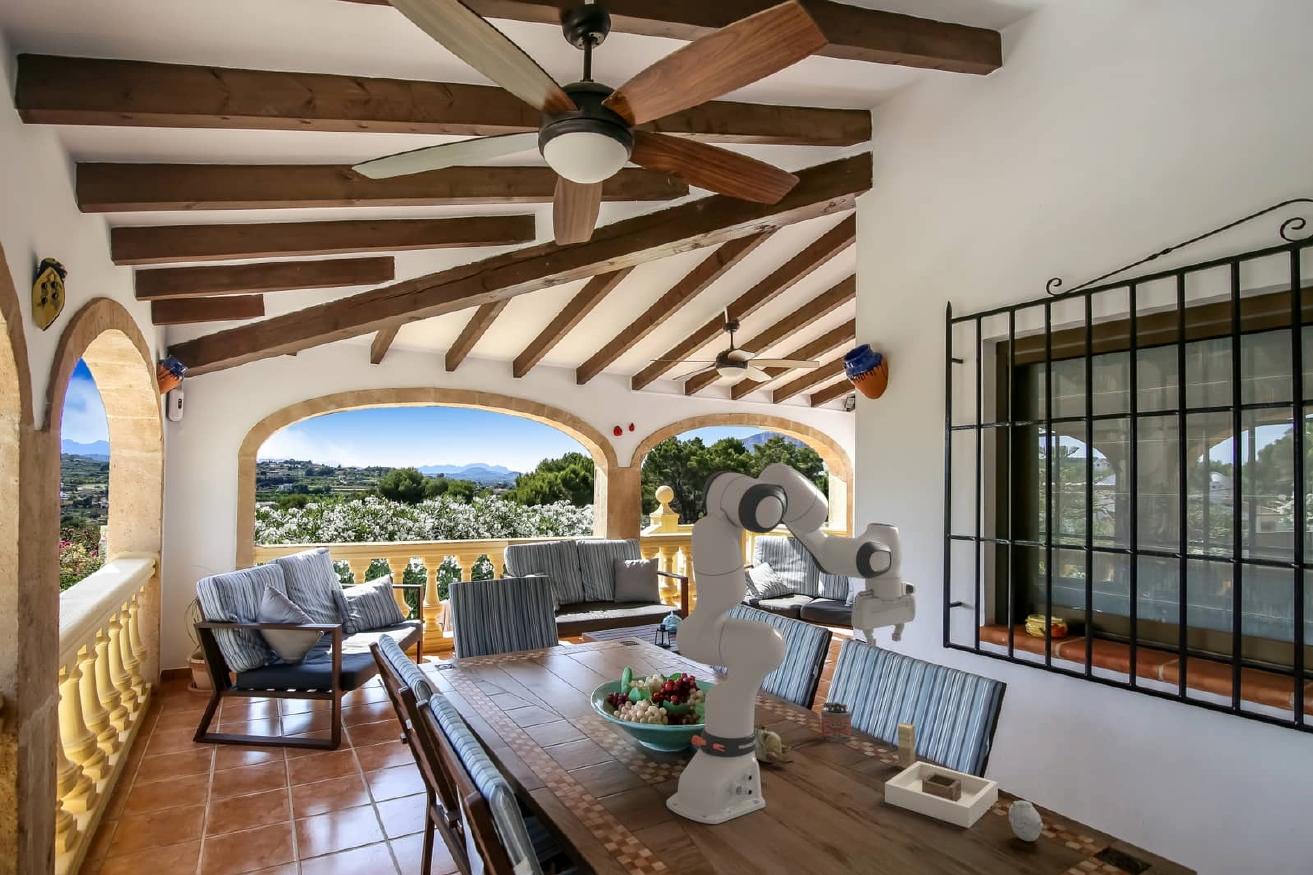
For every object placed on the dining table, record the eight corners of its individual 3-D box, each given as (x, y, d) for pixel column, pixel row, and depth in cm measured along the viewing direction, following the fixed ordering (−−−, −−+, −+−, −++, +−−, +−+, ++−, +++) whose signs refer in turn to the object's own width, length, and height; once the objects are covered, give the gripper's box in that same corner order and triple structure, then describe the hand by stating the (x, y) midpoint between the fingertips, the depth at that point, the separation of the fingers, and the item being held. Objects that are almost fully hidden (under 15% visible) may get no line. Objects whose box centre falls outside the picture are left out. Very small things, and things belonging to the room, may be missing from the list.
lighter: (850, 738, 204) (850, 701, 205) (852, 742, 201) (852, 705, 201) (820, 737, 205) (820, 700, 205) (821, 741, 202) (821, 703, 202)
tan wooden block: (910, 770, 182) (909, 728, 183) (898, 766, 184) (898, 725, 185) (915, 766, 185) (914, 725, 185) (903, 763, 187) (903, 722, 187)
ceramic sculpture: (738, 715, 195) (796, 724, 191) (735, 749, 194) (794, 758, 191) (733, 729, 184) (795, 738, 181) (731, 765, 184) (792, 774, 181)
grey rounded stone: (1031, 830, 151) (1030, 795, 152) (1050, 848, 144) (1050, 811, 145) (1001, 831, 151) (1001, 795, 151) (1019, 848, 144) (1019, 811, 145)
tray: (968, 828, 152) (968, 805, 152) (885, 801, 164) (884, 780, 164) (997, 800, 165) (997, 779, 166) (918, 778, 177) (918, 758, 178)
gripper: (865, 594, 179) (865, 652, 179) (919, 585, 190) (920, 640, 190) (845, 590, 184) (845, 646, 184) (899, 582, 195) (900, 635, 195)
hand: (884, 643), depth 187 cm, fingers open, 8 cm apart
